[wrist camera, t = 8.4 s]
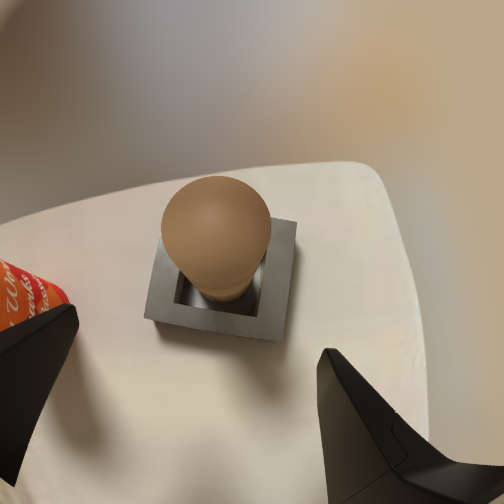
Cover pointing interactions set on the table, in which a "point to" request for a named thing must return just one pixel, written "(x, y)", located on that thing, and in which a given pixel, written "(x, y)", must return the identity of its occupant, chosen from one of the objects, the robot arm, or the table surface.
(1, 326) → the paper cup
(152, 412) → the table surface
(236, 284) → the walnut peg
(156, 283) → the grey square socket base
